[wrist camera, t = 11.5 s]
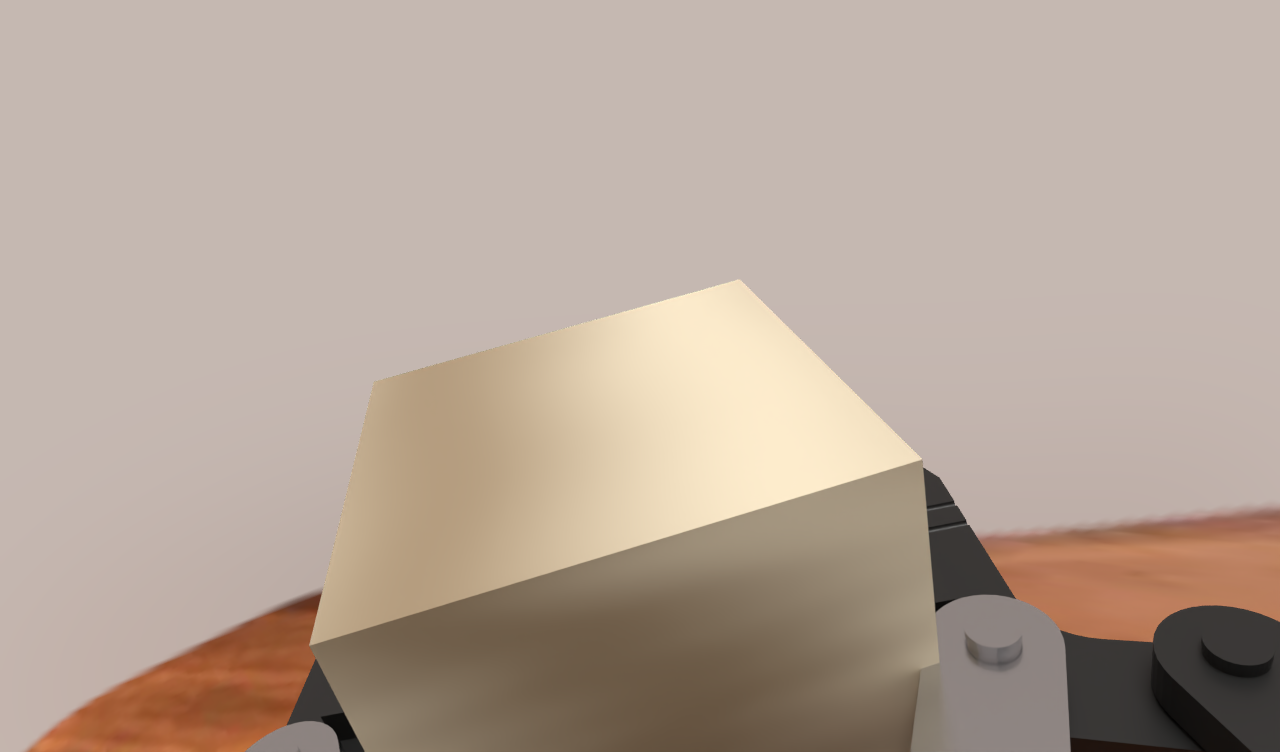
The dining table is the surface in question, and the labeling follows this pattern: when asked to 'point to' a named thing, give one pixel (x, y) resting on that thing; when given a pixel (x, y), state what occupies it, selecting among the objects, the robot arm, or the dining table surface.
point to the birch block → (631, 548)
